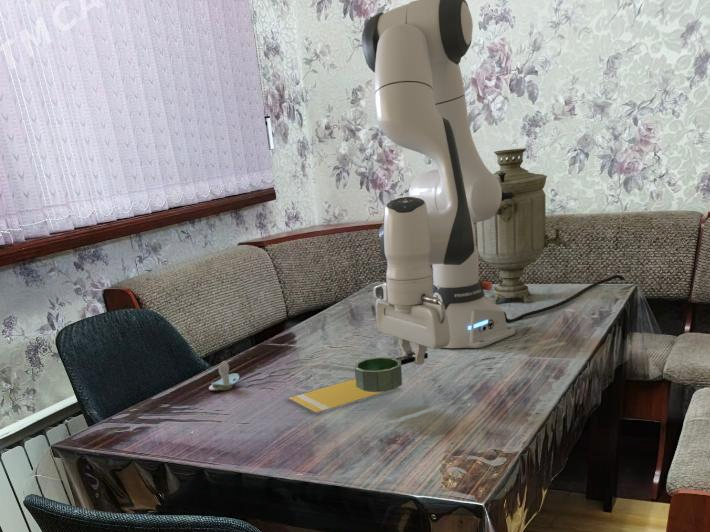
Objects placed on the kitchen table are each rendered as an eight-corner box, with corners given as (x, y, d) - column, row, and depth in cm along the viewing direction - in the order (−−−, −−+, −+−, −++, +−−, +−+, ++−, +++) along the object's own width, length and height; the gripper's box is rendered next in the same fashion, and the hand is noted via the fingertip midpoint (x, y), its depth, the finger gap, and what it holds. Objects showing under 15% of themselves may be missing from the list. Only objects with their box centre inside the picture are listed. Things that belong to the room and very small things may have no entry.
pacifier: (203, 392, 161) (224, 394, 158) (197, 365, 158) (218, 366, 155) (223, 382, 166) (244, 383, 163) (217, 356, 163) (238, 356, 160)
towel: (367, 377, 160) (366, 375, 160) (397, 389, 151) (397, 387, 151) (289, 400, 151) (288, 397, 151) (316, 414, 142) (316, 412, 142)
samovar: (542, 314, 195) (547, 151, 175) (457, 309, 208) (453, 156, 188) (577, 290, 217) (586, 142, 196) (498, 287, 229) (499, 147, 209)
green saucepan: (412, 367, 149) (411, 347, 147) (439, 377, 142) (438, 356, 140) (348, 385, 142) (346, 364, 140) (373, 396, 135) (371, 374, 133)
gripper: (456, 295, 130) (458, 369, 137) (394, 282, 145) (398, 349, 152) (429, 302, 127) (432, 377, 134) (368, 287, 142) (373, 355, 149)
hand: (413, 362), depth 143 cm, fingers closed on green saucepan, 2 cm apart
